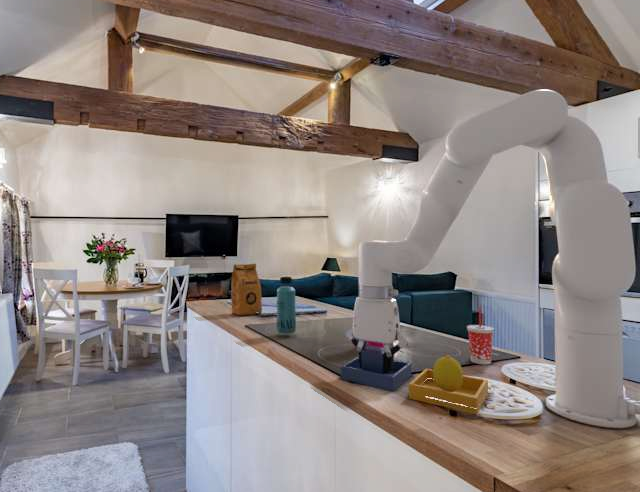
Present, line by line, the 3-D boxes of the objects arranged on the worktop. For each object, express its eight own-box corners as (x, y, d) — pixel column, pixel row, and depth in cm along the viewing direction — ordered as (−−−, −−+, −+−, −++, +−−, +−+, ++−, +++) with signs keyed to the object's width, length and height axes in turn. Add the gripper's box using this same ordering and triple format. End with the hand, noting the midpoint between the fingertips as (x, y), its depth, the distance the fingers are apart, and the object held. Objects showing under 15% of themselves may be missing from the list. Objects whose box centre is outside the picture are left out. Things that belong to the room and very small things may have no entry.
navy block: (390, 370, 96) (390, 349, 96) (382, 375, 92) (382, 353, 92) (369, 366, 99) (369, 345, 99) (361, 371, 95) (361, 350, 95)
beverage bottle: (282, 332, 141) (282, 275, 141) (299, 335, 137) (299, 276, 137) (273, 336, 136) (272, 277, 136) (290, 339, 132) (289, 278, 132)
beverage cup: (489, 367, 102) (489, 311, 102) (463, 361, 106) (462, 308, 106) (497, 361, 106) (497, 308, 106) (472, 356, 110) (471, 305, 110)
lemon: (467, 400, 80) (466, 359, 80) (437, 398, 81) (436, 358, 81) (458, 389, 86) (457, 352, 86) (430, 388, 87) (429, 350, 87)
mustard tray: (488, 394, 84) (487, 380, 84) (477, 414, 75) (476, 398, 75) (426, 381, 92) (425, 368, 92) (409, 398, 83) (408, 383, 83)
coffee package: (264, 315, 173) (263, 263, 173) (237, 317, 169) (236, 264, 169) (255, 311, 183) (254, 262, 183) (229, 313, 178) (228, 263, 178)
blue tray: (411, 375, 96) (411, 363, 96) (393, 391, 87) (393, 377, 87) (362, 365, 104) (362, 354, 104) (340, 379, 95) (340, 366, 95)
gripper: (417, 294, 93) (418, 373, 93) (348, 288, 104) (348, 359, 104) (407, 298, 87) (408, 382, 87) (334, 291, 98) (335, 366, 98)
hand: (375, 369), depth 95 cm, fingers closed on navy block, 5 cm apart
